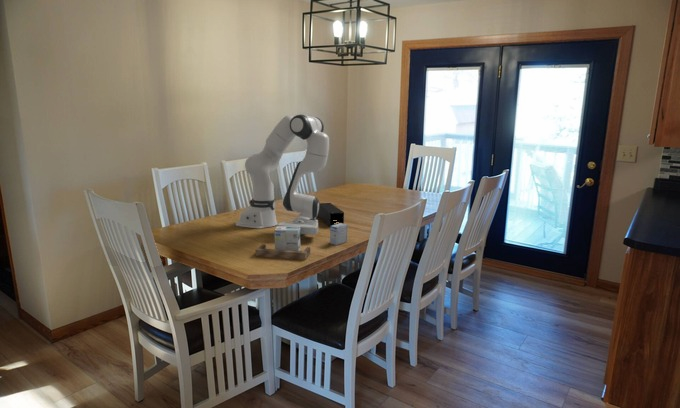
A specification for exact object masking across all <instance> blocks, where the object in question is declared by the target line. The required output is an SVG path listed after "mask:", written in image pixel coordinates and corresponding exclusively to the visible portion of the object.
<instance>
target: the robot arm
mask: <svg viewBox="0 0 680 408" xmlns="http://www.w3.org/2000/svg"><path fill="white" fill-rule="evenodd" d="M324 129H325V126H324V123H323V121H322V120H321V119H320V118H319V117H317V116H312V115H310V114H297V115H290V114H289V115H288V114H287V115H284V117H283V118H281V119H280V121H279V122H278V123H277V124H276V125H275V127H274V128H273V130H272V131H271V132H270V134H269V135H268V136H267V138H266V139H265V144H264V148H263V149H262V151H260V153H255V154H252V155H251V156H249V157H248V158H247V159H246V160H245V163H244V168H245V170H246V171H247V173H248V174H249V177H250V180H251V184H252V196H253V197H252V199H251V200H250V201H249V202H248V204H250V205H249V207H246V209H244V210H243V211H242V212H241V214H240V216H239V220H238V221H236V222H235V226H236V227H241V228H251V229H256V230H257V229H264V228H271V227H275V226H276V227H277V226H292V227H294V226H296V227H297V226H300V235H318V233H319V220H318V219H317V217H318V213H319V209H320V200H319V199H318V197H317V196H314V195H309V194H305V193H300V192H298V191H297V190H298V188H299V185H300V182H301V180H302V177H303V176H304V175H307V174H311V173H317V172H320V171H322V170H324V169H325V167H326V165H327V163H328V158H329V151H330V137H329V135H328V134H327V133H326V132H324ZM295 137H299V138H300V139H302V140H303V141H304V140H305V141H306V143H307V145H306V152H305V156H304V158H303V159H302V160H300V161H299V162H297V164H296V167H294V168H295V169H294V170H293V173H292V176H291V179H290V182H289V183H288V184H289V185H288V187H287V189H286V193H285V194H284V197H283V201H282V206H283V208H284V209H285V210H286V211H287V212H296V213H300V214H299V215H298V216H296V217H294V219H293V220H292V221H280V222H278V220H277V217H276V216H277V215H276V210H275V209H276V199H275V190H274V189H275V187H274V183H273V181H272V179H271V176H270V173H271V172H273V171H275V170H276V169H277V168H278V167H279V165H280V160H281V159H282V156H283V155H284V153H285V151H287V149H288V148H289V145H290V144H291V143H292V142H293V140H294V138H295ZM276 227H275V228H276Z"/></svg>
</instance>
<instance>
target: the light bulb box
mask: <svg viewBox="0 0 680 408" xmlns="http://www.w3.org/2000/svg"><path fill="white" fill-rule="evenodd" d="M274 249H275V250H289V251H301V234H300V226H297V227H296V226H294V227H292V226H277V227H275V229H274Z"/></svg>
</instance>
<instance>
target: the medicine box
mask: <svg viewBox="0 0 680 408" xmlns="http://www.w3.org/2000/svg"><path fill="white" fill-rule="evenodd" d="M329 241H330V242H329V244H331V245H334V246H338V245H341V244H343V243H347V242H348V224H346V223H344V224H343V223H339V224H335V225H332V226H329Z"/></svg>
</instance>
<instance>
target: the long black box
mask: <svg viewBox="0 0 680 408" xmlns="http://www.w3.org/2000/svg"><path fill="white" fill-rule="evenodd" d="M319 203H320V202H319ZM317 217H318V218H319V219H320V220H321V221H322V222H323V223H325V224H326V225H327V226H328V227H330V226H332V225H335V224H334V223H336V222H339V223H343V224H345V212H344V211H343V210H342V209H340V208H338V207H337V206H336V205H334V204H333V203H331V202H321V203H320V209H319V213H318V215H317ZM333 220H337V221H333ZM337 224H338V223H337Z"/></svg>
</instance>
